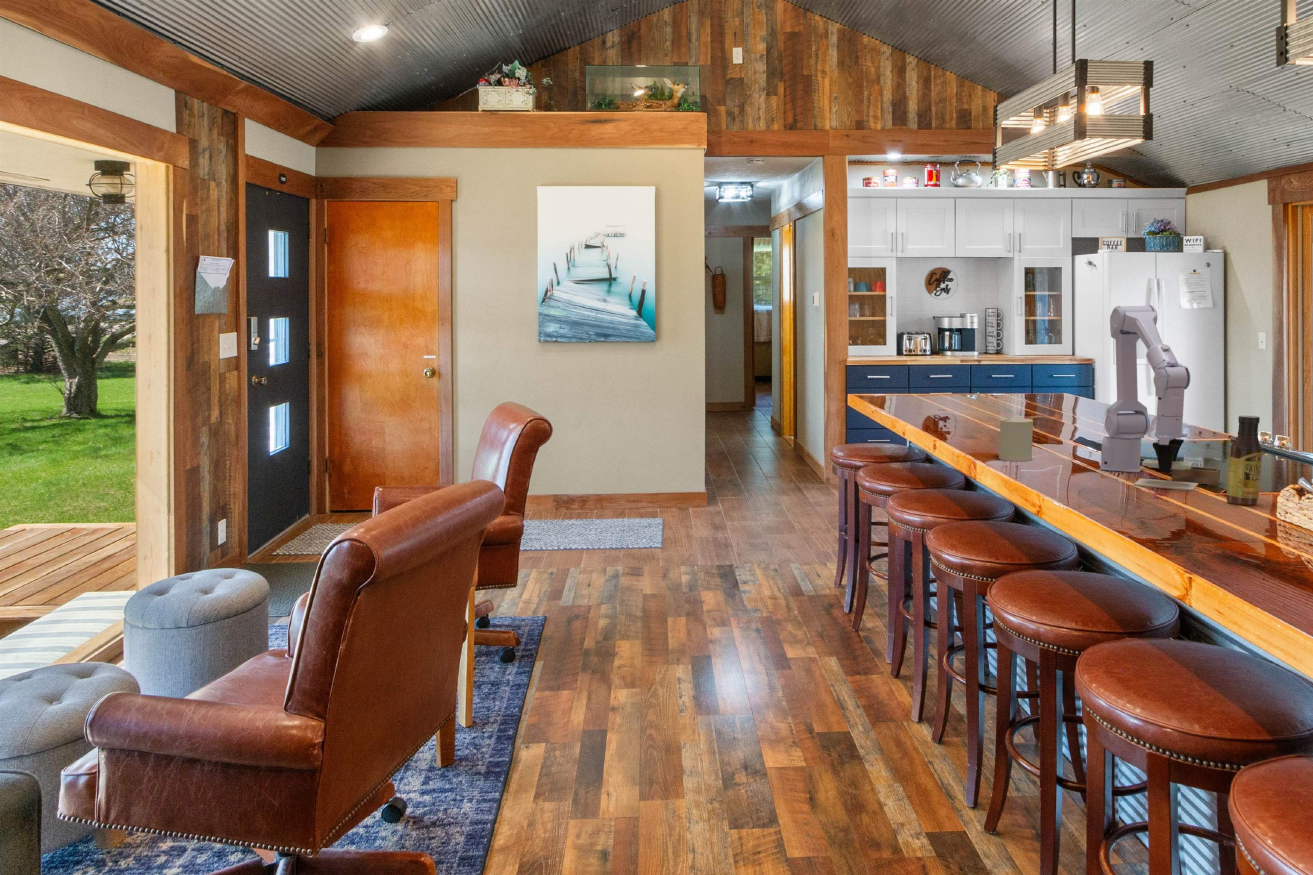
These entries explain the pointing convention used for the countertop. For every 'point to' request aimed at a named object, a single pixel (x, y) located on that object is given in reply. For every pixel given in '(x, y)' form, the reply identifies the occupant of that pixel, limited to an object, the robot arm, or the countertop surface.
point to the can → (1016, 439)
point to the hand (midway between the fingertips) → (1166, 469)
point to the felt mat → (1166, 484)
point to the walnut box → (1197, 475)
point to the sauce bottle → (1245, 463)
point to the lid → (1175, 465)
